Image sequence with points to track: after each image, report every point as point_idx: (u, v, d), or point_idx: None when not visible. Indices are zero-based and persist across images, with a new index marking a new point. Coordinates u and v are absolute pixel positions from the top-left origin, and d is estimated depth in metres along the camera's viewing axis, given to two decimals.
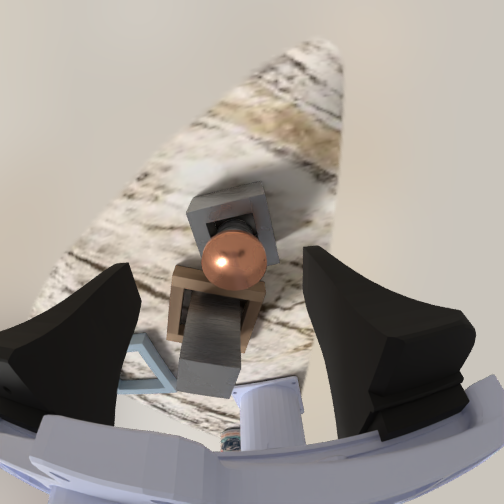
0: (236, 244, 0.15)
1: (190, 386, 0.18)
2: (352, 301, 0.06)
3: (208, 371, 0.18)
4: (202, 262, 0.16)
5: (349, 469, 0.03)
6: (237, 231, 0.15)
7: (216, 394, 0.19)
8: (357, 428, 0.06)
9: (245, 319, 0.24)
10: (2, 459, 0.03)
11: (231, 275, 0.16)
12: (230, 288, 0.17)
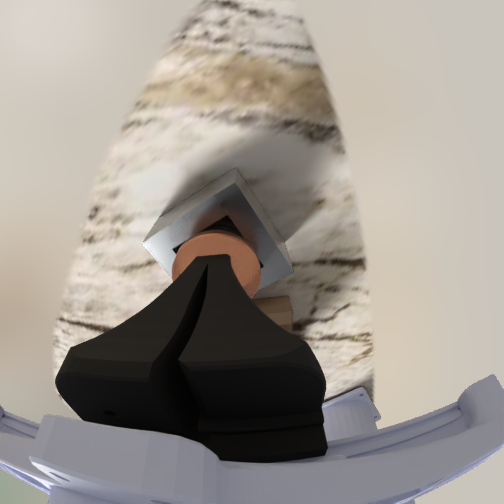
0: (207, 251, 0.11)
1: None
2: (203, 316, 0.06)
3: None
4: None
5: (349, 469, 0.03)
6: (205, 232, 0.11)
7: None
8: None
9: None
10: (2, 459, 0.03)
11: None
12: None
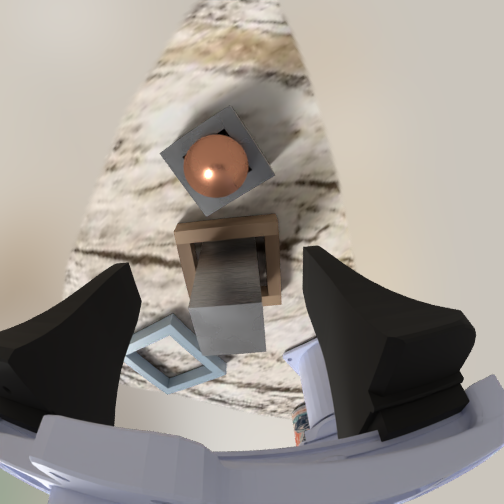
0: (210, 146, 0.15)
1: (215, 345, 0.17)
2: (352, 301, 0.06)
3: (226, 317, 0.16)
4: (186, 175, 0.15)
5: (349, 469, 0.03)
6: (209, 135, 0.15)
7: (248, 348, 0.17)
8: (357, 428, 0.06)
9: (267, 261, 0.21)
10: (2, 459, 0.03)
11: (217, 180, 0.16)
12: (221, 194, 0.16)
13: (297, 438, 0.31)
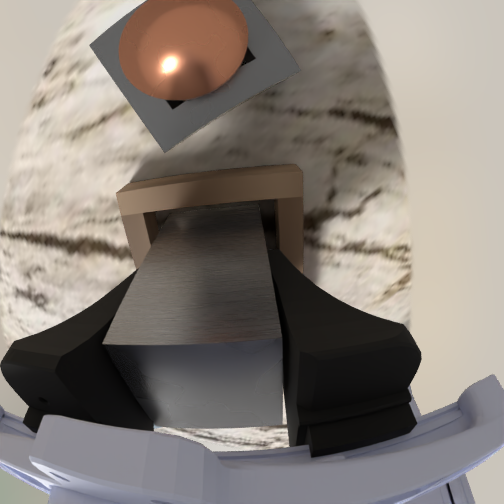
0: (173, 4, 0.05)
1: (177, 414, 0.07)
2: (289, 309, 0.06)
3: (193, 368, 0.06)
4: (122, 62, 0.06)
5: (349, 469, 0.03)
6: None
7: (245, 421, 0.07)
8: (295, 439, 0.06)
9: (281, 246, 0.12)
10: (2, 459, 0.03)
11: (182, 63, 0.06)
12: (190, 93, 0.07)
13: None
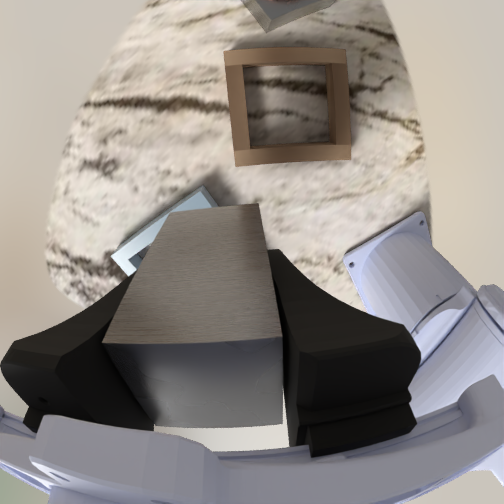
0: None
1: (177, 413, 0.07)
2: (289, 309, 0.06)
3: (193, 368, 0.06)
4: None
5: (349, 469, 0.03)
6: None
7: (245, 420, 0.07)
8: (295, 439, 0.06)
9: (335, 94, 0.15)
10: (2, 459, 0.03)
11: None
12: None
13: None
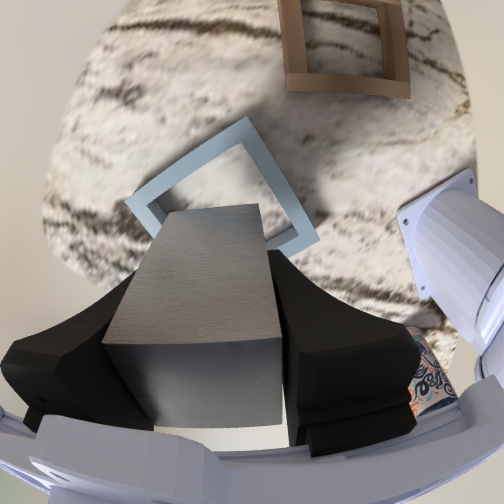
0: None
1: (176, 413, 0.07)
2: (289, 309, 0.06)
3: (192, 368, 0.06)
4: None
5: (349, 469, 0.03)
6: None
7: (245, 420, 0.07)
8: (295, 439, 0.06)
9: (392, 31, 0.11)
10: (2, 459, 0.03)
11: None
12: None
13: None
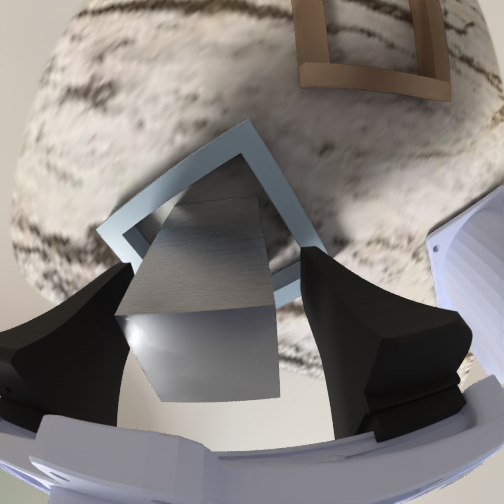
0: None
1: (181, 387, 0.08)
2: (348, 302, 0.06)
3: (196, 336, 0.07)
4: None
5: (349, 469, 0.03)
6: None
7: (245, 393, 0.08)
8: (353, 429, 0.06)
9: (430, 19, 0.08)
10: (2, 459, 0.03)
11: None
12: None
13: None
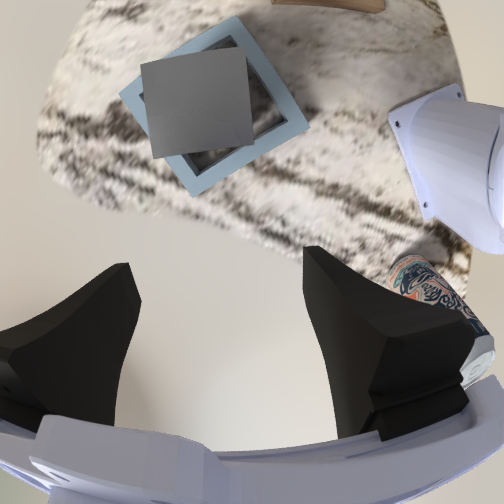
0: None
1: (173, 131, 0.10)
2: (352, 301, 0.06)
3: (192, 72, 0.09)
4: None
5: (349, 469, 0.03)
6: None
7: (225, 136, 0.10)
8: (357, 428, 0.06)
9: None
10: (2, 459, 0.03)
11: None
12: None
13: None
